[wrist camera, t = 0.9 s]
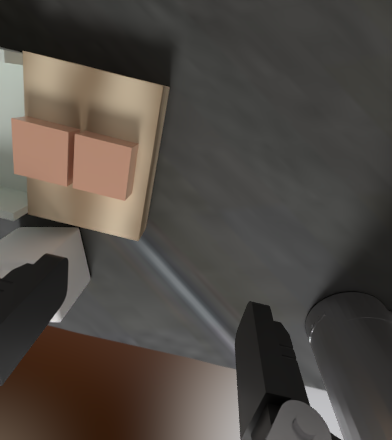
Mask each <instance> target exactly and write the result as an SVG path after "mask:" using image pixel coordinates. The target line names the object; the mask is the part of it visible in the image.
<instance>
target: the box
mask: <svg viewBox="0 0 392 440" xmlns="http://www.w3.org/2000/svg"><path fill="white" fill-rule="evenodd" d="M24 116H25V110H24V80H23V53H22V52H18V51H15V50H11V49H7V48H3V47H0V218H4V219H8V220H12V221H15V220H16V219H18V218H20V217H21V216H23V215H25V214H26V213H28V200H27V177H25V176H21V175H17V174H14V164H13V145H12V126H11V118H15V117H24Z"/></svg>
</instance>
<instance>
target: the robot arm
mask: <svg viewBox="0 0 392 440" xmlns="http://www.w3.org/2000/svg"><path fill="white" fill-rule="evenodd" d="M68 264H69V263H68V259H67V258H66V257H61V256H57V255H53V254H48V253H46V254H44V255H43V256H42V257H41V258H40V259H38V260H37V261H36V262H35V263H34V264H30V263H26V264H24V265H22V266H20V267H17V268H15V269H13V270H11V271H10V272H9V273H8V274H7V275H6V276H4V277H3V278H2V279H1V281H0V386H2V385H3V383H4V382H5V381H6V379H7V378H8V377H9V375H10V374H11V373H12V371H13V370H14V369H15V367H16V366H17V365H18V363H19V362H20V361H21V359H22V358H23V356H24V355H25V354H26V353H27V351H28V350H29V349H30V347H31V345H32V344H33V343H34V342H35V340H36V339H37V338H38V337H39V335H40V334H41V333H42V331H43V330H44V329H45V327H46V326H47V325H48V323H49V322H50V321H51V319H52V318H53V317H54V315H55V314H56V313H57V311H58V310H59V309H60V307H61V306H62V304H63V302H64V300H65V298H66V295H67V289H68ZM305 329H306V333H307V336H308V339H309V342H310V345H311V348H312V350H313V353H314V356H315V359H316V362H317V365H318V368H319V371H320V373H321V376H322V379H323V382H324V385H325V387H326V390H327V393H328V396H329V399H330V401H331V404H332V407H333V410H334V413H335V416H336V418H337V421H338V424H339V427H340V430H341V432H342V435H343V438H344V440H392V312H391V311H388V310H387V309H386V307H385V306H384V305H383V303H382V302H380V301H379V300H378V299H377V298H375V297H373V296H371V295H368V294H364V293H359V292H346V293H339V294H335V295H332V296H330V297H328V298H325V299H324V300H322V301H320V302H319V303H318V304H316V305H315V306H314V307H313V308H312V309H311V311H310V312H309V314H308V316H307V319H306V323H305ZM235 356H236V371H237V386H238V387H237V389H238V404H239V419H240V420H239V422H240V437H241V440H341V439H339V438H338V437H336V436H334V435H333V434H332V433H330V431H329V428H328V426H327V424H326V423H325V421H324V420H323V418H322V417H321V416H320V414H319V413H318V412H317V411H316V410H314V409H313V408H312V407H311V406H310V404H309V401H308V398H307V394H306V390H305V387H304V384H303V380H302V377H301V373H300V370H299V366H298V363H297V361H296V356H295V352H294V350H293V346H292V342H291V339H290V335H289V334H288V332H287V331H286V329H285V328H284V326H283V325H282V324H281V323H280V322H276V321H273V317H272V313H271V309H270V306H268V305H264V304H260V303H255V302H251V301H250V302H249V303H248V304H247V307H246V309H245V312H244V314H243V317H242V319H241V322H240V324H239V327H238V330H237V333H236V338H235Z"/></svg>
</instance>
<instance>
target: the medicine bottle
mask: <svg viewBox="0 0 392 440" xmlns="http://www.w3.org/2000/svg"><path fill="white" fill-rule="evenodd" d="M46 253H48V254H53V255H57V256H61V257H66V258H67V259H68V263H69V264H68V289H67V295H66V298H65V300H64V302H63V304H62V306H61V307H60V309H59V310H58V311H57V313H56V314H55V315H54V317H53V318H52V319H51V321H50V322H60V321H61V320H62V319H63V318H64V316H65V315H66V314H67V312H68V311H69V309H70V308H71V307H72V305H73V304H74V302H75V301H76V300H77V298H78V297H79V295H80V294H81V293H82V291H83V290H84V288H85V287H86V286H87V284H88V283H89V281H90V279H91V278H90V273H89V269H88V265H87V260H86V256H85V252H84V247H83V243H82V239H81V234H80V230H79V228H77V227H19V228H17V229H16V230H14V231H13V232H11V233H10V234H8V235H7V236H5V237H4V238H2V239H1V240H0V281H1V279H2V278H3V277H4V276H6V275H7V274H8V273H9V272H10V271H11V270H13V269H15V268H17V267H20V266H22V265H24V264H26V263H30V264H34V263H35V262H36V261H37V260H38V259H40V258H41V257H42V256H43V255H44V254H46Z"/></svg>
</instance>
